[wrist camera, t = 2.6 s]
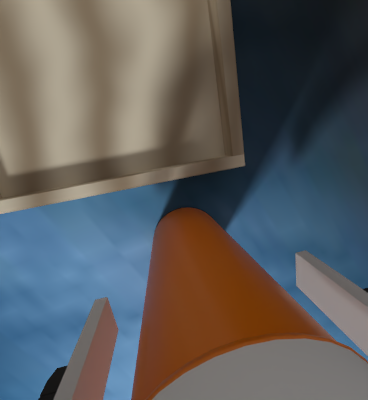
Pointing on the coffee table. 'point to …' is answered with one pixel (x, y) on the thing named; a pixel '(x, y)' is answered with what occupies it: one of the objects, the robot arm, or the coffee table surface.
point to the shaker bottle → (230, 326)
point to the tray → (114, 96)
